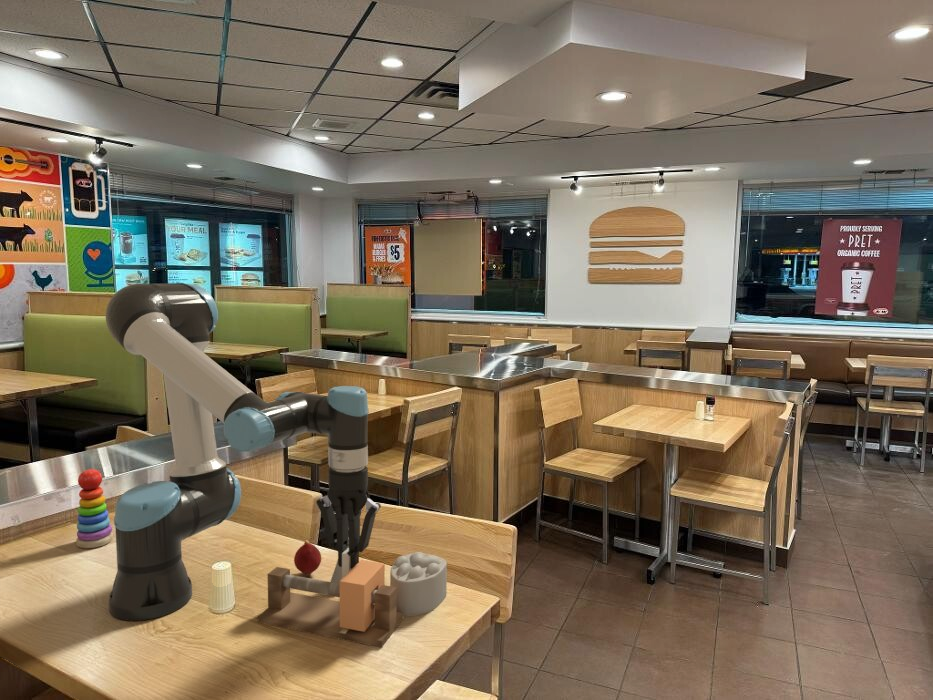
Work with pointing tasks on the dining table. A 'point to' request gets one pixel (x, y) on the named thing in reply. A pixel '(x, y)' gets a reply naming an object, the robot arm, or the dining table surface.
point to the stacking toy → (92, 512)
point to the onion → (307, 558)
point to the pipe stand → (325, 609)
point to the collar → (360, 594)
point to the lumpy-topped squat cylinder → (419, 583)
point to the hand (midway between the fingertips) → (348, 582)
